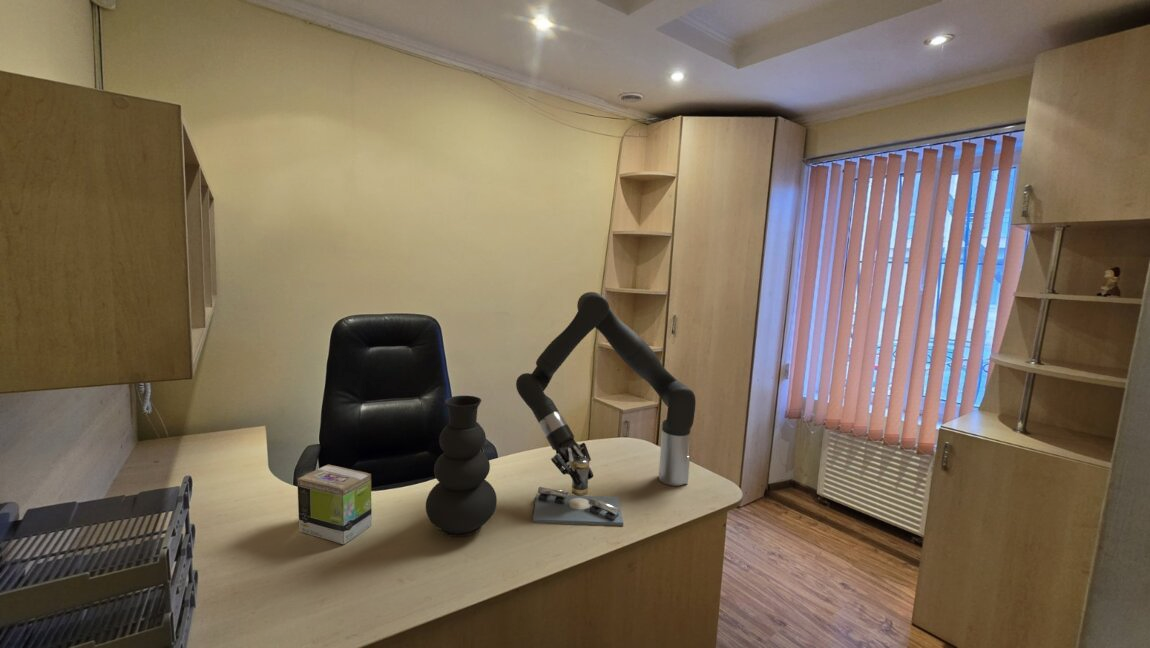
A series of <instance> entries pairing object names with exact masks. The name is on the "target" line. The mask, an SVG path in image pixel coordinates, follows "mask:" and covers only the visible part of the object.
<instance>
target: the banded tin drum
mask: <svg viewBox="0 0 1150 648" xmlns="http://www.w3.org/2000/svg"><path fill="white" fill-rule="evenodd" d="M573 464H574V467H575V471H577V472H578V474H579V476H580V478H581V479H582V483H581V484H580V485H578V486H577V485H576V484H575V483H574V481H573V480H572V479H571V480H572V481H571V482H572V483H571V493H572V494H573V495H575V496H587V494H588V493H589V480H588V472H589V467H590V461H589V459H588V458H586V456H585V457H582V456H579V457H575V458H574V463H573Z"/></svg>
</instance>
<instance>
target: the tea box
mask: <svg viewBox="0 0 1150 648" xmlns="http://www.w3.org/2000/svg"><path fill="white" fill-rule="evenodd" d="M296 482H297V507H298V529H299V532H300V533H303V534H306V535H307V534H308V535H310V536H313V537H317V538H320V539H323V540H328V541H331V542H334V543H337V544H341V545H345V544H347V543H348V542H349V541H351V540H353V539H355V538H357V536H359V535H360V534H362V533H363V532H365V531H366V530H367V529H369V528H370V527H371V526H372V519H373V518H372V516H373V515H372V514H373V513H372V512H373V511H372V473H368V472H366V471H361V470H356V469H355V470H354V469H350V468H346V467H341V466H338V465H337V466H336V465H332V464H326V465H324V466H321V467H319V468H318V469H315V470H313V471H311V472H309V473H306V474H305V475H302V476H301V477H298V478H297V481H296ZM368 527H369V528H368Z"/></svg>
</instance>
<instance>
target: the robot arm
mask: <svg viewBox="0 0 1150 648" xmlns="http://www.w3.org/2000/svg"><path fill="white" fill-rule="evenodd" d="M576 307H577V313H576V314H575V316H574V318H573V319H572V321H571V322H570V323H569V324H568V325H567V326H566V328H565V329H564V330H563V331H562V332H561V333H560V334H559V335H557V336H556V337H555V338H554V339H553V340H552V341H551V342H550V343H549V344H548V345H547V346H546V347H545V349H544V350H543V351H542V352H541V354H540V355H539V356H538V358H537V359H536V361H535V365H536V367H535V368H534V370H533V371H532V373H528V372H526V373H522V374H520V375H519V376H518V377H517V378H516V382H515V387H516V391H517V393H518V395H519V397H520V398H521V399H522V400H523V401H524V403H525V404H526V405H527V407H528V408H529V409H530V410H531V411H532V413H533V415H534V417H535V419H536V421H537V422H538V424H539V426H540V429H541V431H542V433H543V434H544V436H545V438H546V440H547V442H548V443H549V445H550V447H551V449H552V450H553V451H555V453H556V454H554V456H552V457H551V458H550V460H551V462H552V463H553V464H554V466H555V467H556V468H557V469H558V470H559V472H560V473H562V475H565V476H566V475H569V476H570V478H571V480H573V481H574V483H575V484H576V485H577V486H578V485H580V484H581V483H582V479H581V478H580V476H579V474H578V472H577V471H575V467H574V464H573V463H574V458H575V457H579V456H582V457H586V458H588V459H589V462H591V461H592V458H591V455H590V454H589V451H588V447H587V445H586V443H585V442H582V443H577V442H576V441H575V435H574V433H573V431H572V430H571V428H570V426H569V425H568V423H567V421H566V420H565V419H566V418H564V416H563V415H562V413H560V411H559V409H558V408H557V406H556V404H555V403H554V401H553V399H552V398H550V397H549V396H548V395H547V394H545V392H544V391H545V390H546V389H547V387H548V385H549V384H550V382H551V380H552V378H553V376H554V375H555V373H556V372H558V370H559V369H560V367H561V366H562V365H563V364H564V362H565V361H566V359H567V358H568V357H569V356H570V355H571V353H573V351H574V350H575V349H576V347H577V346H578V345H579V344H580V343H581V342H582V341H583V339H584V338H586V337H587V335H588V334H589V333H591V332H592V331H593V330H594V329H596V330H597V331H598V332H600V334H602V336H603V337H604V338H605V339H606V341H607V342H608V344H609V345H610V346H611V348H612V349H613V350H614V351H615V353H616V354H617V355H618V356H619V357H620V359H621V360H622V361H623V362H624V363H625V364H626V365H627V366H628V367H629V368H630V369H631V370H632V371H633V372H634V373H635V374H637V375H638V376H639V377H641V378H642V379H643V380H644V381H645V382H647V383H648V384H649V386H651V388H653V390H654V391H655V392H656V393H657V395H658V396H659V398H660V399H661V400H662V402H663V403H664V405H665V406H666V407H667V413H666V419H664V420H662V425H661V429H662V430H661V438H660V439H661V441H660V453H659V467H658V480H659V481H660V482H661V483H663V484H665V485H669V486H675V487H679V486H683V485H688V483H689V474H690V472H689V471H690V460H691V457H690V455H689V450H690V440H691V439H690V438H691V429H692V427H693V425H694V419H695V413H696V400H697V399H696V395H695V393H694V391H693V390H692V389H690V388H689V387H688V386H687V385H685V384H684V383H683V382H681V381H679V380H678V379H677V378H676V377H675V376H673V375H672V373H670V372H669V371H667V368H666V367H664V366H663V363H662V362H661V360H660V359H659V358H658V356H657V354H656V352H654V350H653V349H652V348H651V347H650V346H649V344H647V342H646V341H645V340H644V339H643V338H642V337H641V336H640V335H639V334H637V332H635V331H634V330H633V329H632V328H630V327H629V326H628V325H626V323H624V322H623V321H622V320H621V319H620V318H619V317H618V316H617V315H616V314H615V313H614V312H613V310H612V309H611V308H610V303H609V301H608V300H607V298H606V297H604V296H603V295H602V294H600V293H598V292H595V291H589V292H585V293H583V294H582V295H581V296H580V297H579V298H578V300H577V306H576ZM592 478H594V472H593V471H592V469H591V467H590V466H589V472H588V481H589V480H591V479H592Z"/></svg>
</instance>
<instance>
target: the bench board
mask: <svg viewBox="0 0 1150 648" xmlns="http://www.w3.org/2000/svg"><path fill="white" fill-rule="evenodd" d="M539 495H540V494H538V493H536V497H535V504H534V511H533V518H532V523H533V524H557V525H559V524H560V525H562V524H563V525H586V526H587V525H588V526H591V525H592V526H615V527H617V526H618V527H623V526H624V519H623V513H622V509H621V503H620V500H619V496H600V495H597V496H596V495H584V496H577V495H574V494H573V495H572V494H569V495H568V498H567V499H565V501H564V503H563V504H557V503H555V498H556V497H555V496H549V498H548V499H547V501H540V500H538V497H539ZM590 498H594V499H596V500H599V501H601V502H604V503H607V504H609V505H612V506H615V507H617V508H619V516H618V517H616V518H615V519H614V520H613V521H611V520H608V519H606V518H605V514H606V513H607V511H604V510H602V511H601V512H600V513H598V514H597V515H596V514H593V513H591V512H590V508H591V507H592V506H591V505H589V499H590Z"/></svg>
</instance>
